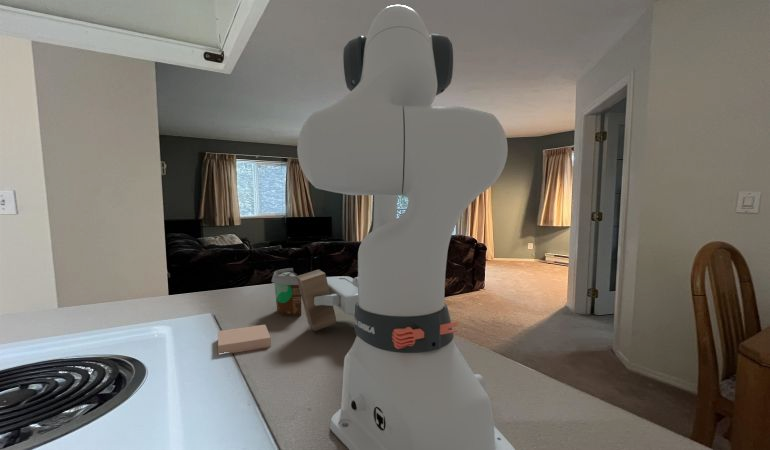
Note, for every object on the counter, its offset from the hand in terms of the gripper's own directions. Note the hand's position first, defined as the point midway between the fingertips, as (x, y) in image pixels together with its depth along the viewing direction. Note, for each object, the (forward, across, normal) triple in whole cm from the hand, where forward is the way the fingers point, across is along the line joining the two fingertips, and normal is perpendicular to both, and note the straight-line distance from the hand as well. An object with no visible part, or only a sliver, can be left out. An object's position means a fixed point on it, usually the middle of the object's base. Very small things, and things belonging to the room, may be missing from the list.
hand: (309, 296), depth 73 cm
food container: (+2, -17, +8) cm, 19 cm away
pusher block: (-3, 0, +6) cm, 7 cm away
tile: (+8, 0, +7) cm, 11 cm away
